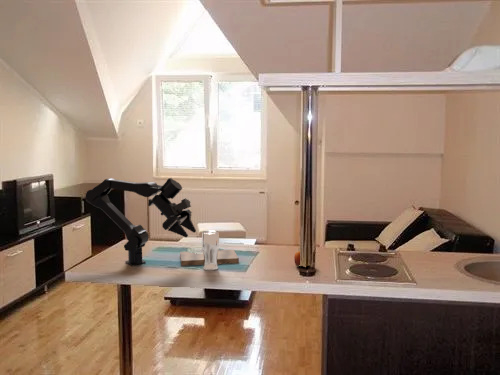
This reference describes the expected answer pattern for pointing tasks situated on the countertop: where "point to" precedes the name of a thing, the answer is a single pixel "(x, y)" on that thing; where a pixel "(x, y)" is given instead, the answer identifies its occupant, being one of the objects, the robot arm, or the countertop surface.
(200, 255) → the walnut board
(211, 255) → the beer glass
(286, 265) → the countertop surface
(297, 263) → the fruit
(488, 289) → the countertop surface
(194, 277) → the countertop surface
